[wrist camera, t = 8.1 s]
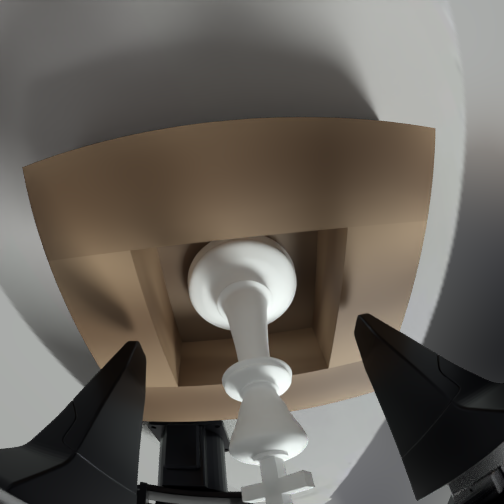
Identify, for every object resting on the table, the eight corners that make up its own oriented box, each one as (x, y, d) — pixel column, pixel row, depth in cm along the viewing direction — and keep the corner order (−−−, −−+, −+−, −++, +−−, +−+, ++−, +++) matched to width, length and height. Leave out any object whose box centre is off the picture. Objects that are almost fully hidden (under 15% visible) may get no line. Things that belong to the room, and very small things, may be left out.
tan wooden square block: (353, 346, 17) (375, 390, 14) (145, 371, 16) (136, 420, 13) (379, 120, 11) (435, 128, 7) (73, 149, 10) (22, 167, 6)
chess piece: (165, 273, 12) (121, 511, 3) (256, 209, 11) (356, 474, 2) (231, 337, 14) (252, 530, 5) (312, 288, 13) (403, 484, 5)
